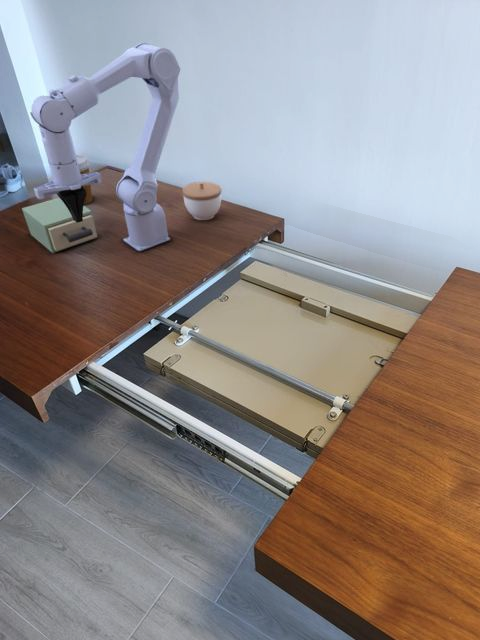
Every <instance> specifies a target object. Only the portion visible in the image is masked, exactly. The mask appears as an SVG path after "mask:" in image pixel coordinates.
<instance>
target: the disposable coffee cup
mask: <svg viewBox="0 0 480 640" xmlns="http://www.w3.org/2000/svg"><path fill="white" fill-rule="evenodd" d="M76 159H77V162H78V167H79V171H80V174H88V173H90V164H91V163H90V160H88V158H87V157H86V156H84V155H81V154H80V155H79V154H76ZM83 189H85V190H86V193H87V195H86V198H85V201H84V205H87V204H89V203H91V202H92V201H93V194H92V184H91V185H87V186H83Z"/></svg>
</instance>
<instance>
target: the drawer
mask: <svg viewBox="0 0 480 640" xmlns="http://www.w3.org/2000/svg"><path fill="white" fill-rule="evenodd" d="M92 216H93V215H92ZM92 216H91V215H88V216H86V215H85V216H83V221H82V222H78V223H77V222H76V221H74V220H72V221H69V222H66V223H63V224H60V225H57V226H54V227H53V226H51V227H48V232H49V235H50V238H51V241H52V244H53V247H54V250H56V251H57V252H59V251H58V250H60V251H62V250H61V249H63V250H65V249H64V248H66V247H69V246H72V245H75V244H78V243H80V244H82V243H81V242H83V243H85V242H84V241H86V242H88V241H87V240H89V239H92V238H95V237H97V236H98V233H97V234H96V232H97V229H96V230H95V228H96V225H95V226H94V224H95V221H94V222H93V220H94V217H93V218H92ZM95 239H96V238H95ZM92 240H93V239H92ZM89 241H90V240H89ZM78 245H79V244H78ZM75 246H76V245H75ZM72 247H73V246H72ZM69 248H70V247H69ZM66 249H67V248H66Z"/></svg>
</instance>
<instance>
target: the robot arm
mask: <svg viewBox="0 0 480 640" xmlns="http://www.w3.org/2000/svg"><path fill="white" fill-rule="evenodd" d="M180 73H181V67H180V65H179V62H178V59H177V58H176V56H175V54H174V53H173V52H172V51H171V50H170V49H169V48H166V47H159V46H155V45H151V44H149V43H147V42H140V43H138V44H136V45H134V47H130V48H127V49H126V51H124V52H123V54H121V55H119V56H117V58H115V59H114V60H112V61H111V62H109V63H108V64H106V65H105V66H104V67H102V68H101V69H100V70H98V71H97V72H95V73H94V74H93V75H91V76H90V77H86V76H84V75H78V76H76V75H73V74H72V75H70V76H69V77H68V82H66V83H65V84H63V85H62V86H60V87H58V88H56V89H54V88H51V89H50V90H49V91H48V93H49V95H40V96H37V97H36V98H35V99H34V100H33V103H32V104H31V107H30V108H31V109H30V110H31V111H30V113H29V114H30V116H31V118H32V119H33V121H34V122H35V123H36V124H38V128H39V131H40V136H41V142H42V144H43V148H44V152H45V155H46V159H47V163H48V165H49V168H50V173H51V176H52V180H50V181H49V182H46V183H43V184H41V185H39V186H37V187H33V192H34V194H35V197H36V198H37V199H38V200H44V199H45V198H46V197H50V196H53V195H54V196H55V195H56V196H57V197H58V198H60V199H61V200H62V201H63V203H64V204H65V205H66V207H67V208H68V210H69V212H70V213H71V215H72V218H73V220H74V221H76V222H77V223H78V222H82V221H83V206H85V204H84V201H85V198H86V195H87V193H86V190H85V189H83V186H87V185H91V186H92V185H94V184H102V183H103V180H102V176H101V175H102V174H101V173H99V172H97V171H93V172H89V173H88V174H80V171H79V167H78V162H77V159H76V155H77V154H76V150H75V146H74V142H73V138H72V135H71V131H70V127H71V125H72V122H73V121H72V120H74V119H76V118H78V117H79V116H80V115H82V114H85V112H87V111H89V110H90V109H92V108H94V107H95V106H96V105H98V103H99V101H100V96H101V94H103V93H105V92H107V91H108V90H110V89H112V88H114V87H116V86H117V85H119V84H122V83H123V82H124V81H127V80H129V79H130V78H139V79H142V80H143V81H144V83H146V87H147V88H148V90H149V92H150V95H151V96H152V99H151V102H150V106H149V109H148V112H147V116H146V119H145V122H144V125H143V129H142V131H141V135H140V138H139V142H138V145H137V148H136V152H135V156H134V158H133V162H132V164H131V166H129V167H128V168H126V169H125V170H124V173H123V176H122V178H120V180H119V181H118V182H117V185H116V188H115V193H116V196H117V197H118V198H119V200H120V201H121V202H122V204H123V212H124V218H125V223H126V228H127V233H128V237H125V238H123V242H124V243H126V244H127V245H128V246H130V247H132V248H133V249H135V250H136V251H137V252H142V251H145V250H147V249H150V248H153V247H155V246H157V245H161V244H163V243H165V242H168V241H170V240H171V238H170V236H169V232H168V225H167V219H166V218H167V217H166V214H165V211H164V209H163V207H162V206H161V205H160V204H159V203H157V202H158V201H157V200H158V199H157V191H158V189H159V185H158V181H157V179H156V172H157V169H158V166H159V162H160V159H161V156H162V153H163V150H164V147H165V143H166V140H167V138H168V134H169V131H170V129H171V125H172V121H173V119H174V115H175V113H176V109H177V106H178V103H179V99H180V93H179V91H180V90H179V75H180Z"/></svg>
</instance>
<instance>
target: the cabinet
mask: <svg viewBox="0 0 480 640" xmlns="http://www.w3.org/2000/svg"><path fill="white" fill-rule="evenodd" d="M21 210H22V213H23V216H24V218H25V222H26V225H27V228H28V230H29V232H30V236H31V237H33V238H34V239H35V240H37V242H39V243H40V244H41V245H42V246H44V247H45V248H46V249H47V250H48V251H49V252H50V253H52V254H55V253H57V252H60V251H63V250H66V249H69V248H71V247H74V246H77V245H81V244H83V243H86V242H88V241H91V240H96V239H97V238H99V237H98V233H97V229H96V224H95V220H94V216H93V212H92V209H89V208H88V207H86V206H85V205H84V206H83V216H85V215H86V216H88V215H91V216H92V218H93V222H94V226H95V230H96V234H97V237H95V238H92V239H89V240H87V241H84V242H81V243H78V244H75V245H72V246H69V247H66V248H64V249H61V250H58V251H56V250H54V247H53V244H52V241H51V238H50V235H49V232H48V227H51V226H54V225H57V224H60V223H63V222H67V221H70V220H73V218H72V215H71V213H70V212H69V210H68V208H67V207H66V205H65V204H64V203H63V201H62V200H61V199H60V198H59V197H57V198H53V199H49V200H47V201H41V202H40V203H36V204H32V205H28V206H25V207H22V208H21Z"/></svg>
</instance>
